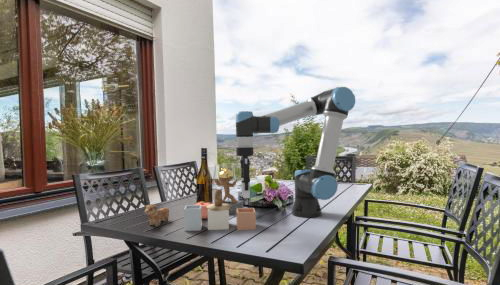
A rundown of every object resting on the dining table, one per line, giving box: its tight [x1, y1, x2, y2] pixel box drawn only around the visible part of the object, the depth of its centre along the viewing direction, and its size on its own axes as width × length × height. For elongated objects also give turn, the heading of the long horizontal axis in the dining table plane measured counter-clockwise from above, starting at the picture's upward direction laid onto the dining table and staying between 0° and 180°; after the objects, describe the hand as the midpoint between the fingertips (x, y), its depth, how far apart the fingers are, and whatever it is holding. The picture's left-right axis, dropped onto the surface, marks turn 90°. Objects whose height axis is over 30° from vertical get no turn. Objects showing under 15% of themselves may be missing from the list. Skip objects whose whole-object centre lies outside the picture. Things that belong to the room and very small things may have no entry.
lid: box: [207, 188, 230, 211], centre depth 134 cm, size 10×10×8 cm
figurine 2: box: [214, 166, 244, 216], centre depth 160 cm, size 14×11×25 cm
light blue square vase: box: [183, 204, 203, 232], centre depth 132 cm, size 7×7×10 cm
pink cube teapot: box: [194, 201, 211, 219], centre depth 151 cm, size 8×12×8 cm, turn 83°
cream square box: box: [207, 209, 230, 231], centre depth 134 cm, size 9×9×9 cm
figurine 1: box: [143, 204, 170, 227], centre depth 142 cm, size 7×16×10 cm, turn 158°
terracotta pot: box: [235, 207, 257, 231], centre depth 133 cm, size 8×8×8 cm
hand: (245, 195), depth 133 cm, fingers open, 13 cm apart
